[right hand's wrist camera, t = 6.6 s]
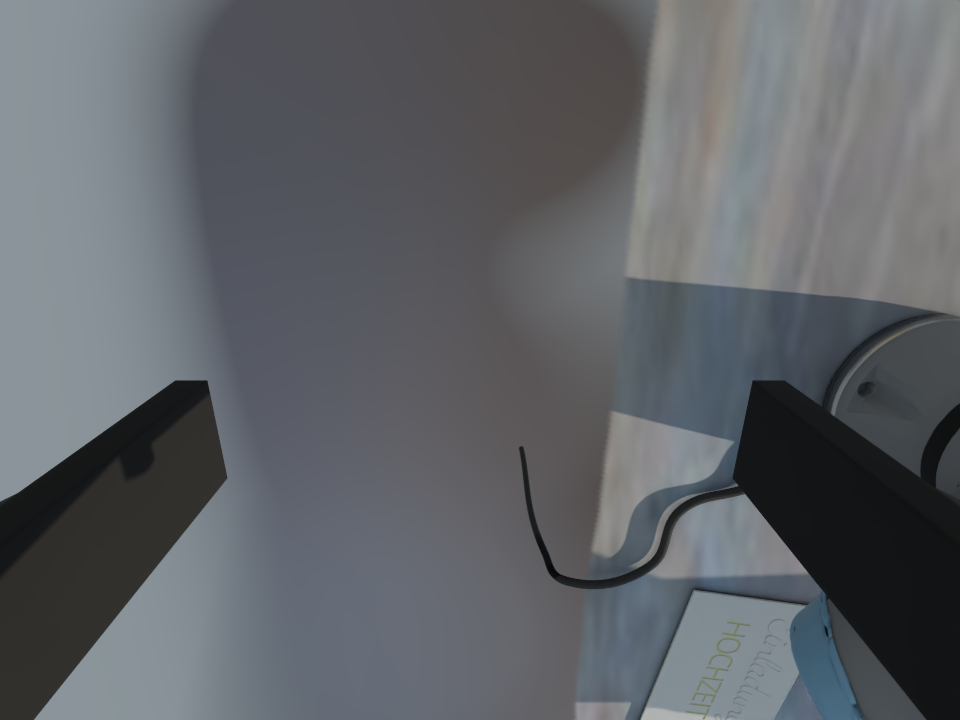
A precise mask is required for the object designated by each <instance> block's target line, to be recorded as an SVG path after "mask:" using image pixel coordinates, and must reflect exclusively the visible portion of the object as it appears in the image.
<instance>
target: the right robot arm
mask: <svg viewBox="0 0 960 720" xmlns="http://www.w3.org/2000/svg"><path fill="white" fill-rule="evenodd" d="M519 452H520V458H521V465H522V473H523V482H524V491H525V499H526V505H527V511H528V515H529V520H530V524H531V527H532V531H533V534H534V537H535V539H536V542H537V545H538V547H539V549H540V552H541V554H542V556H543V559H544V562H545V565H546V568H547V571H548V573H549V574H550V575H551V577H552V578H553V579H555V580H556V581H558V582H559V583H561V584H564V585H567V586H571V587H576V588H583V589H604V588H611V587H615V586H619V585H623V584H626V583H628V582H631V581H633V580H635V579H637V578H639V577H641V576H643V575H645V574H647V573H648V572H650V571H651V570H653V569H654V568H655V567H657V566H658V565H659V564H660V562H661V561H662V560H663V558H664V557H665V554H666V552H667V549H668V546H669V542H670V538H671V535H672V531H673V529H674V526H675V524H676V523H677V521H678V520H679V518H680V517H681V516H682V515H683V514H684V513H686V512H687V511H688V510H690V509H691V508H693V507H695V506H697V505H700V504H703V503H706V502H710V501H714V500H719V499H725V498H730V497H735V496H739V495H743V494H746V495H747V497H748V498H749V499H750V500H751V502H752V503H753V504H754V505H755V507H756V508H757V509H758V510H759V512H760V513H761V514H762V515H763V517H764V518H765V519H766V520H767V522H768V523H769V524H770V525H771V527H772V528H773V529H774V530H775V532H776V533H777V534H778V535H779V537H780V538H781V539H782V540H783V542H784V543H785V544H786V545H787V547H788V548H789V549H790V550H791V552H792V553H793V554H794V555H795V557H796V558H797V559H798V560H799V562H800V563H801V564H802V565H803V567H804V568H805V569H806V570H807V572H808V573H809V574H810V575H811V577H812V578H813V579H814V580H815V582H816V583H817V584H818V585H819V587H820V588H821V589H822V592H821V594H820V595H819V596H818V597H817V598H815V599H814V600H813V601H812V602H811V603H809V604H808V605H807V606H806V607H805V608H803V609H802V610H801V611H800V612H799V613H798V614H797V615H796V616H795V617H794V619H793V620H792V623H791V626H790V641H791V650H792V654H793V657H794V660H795V663H796V666H797V669H798V671H799V673H800V676H801V678H802V680H803V682H804V684H805V686H806V688H807V690H808V692H809V694H810V696H811V698H812V700H813V701H814V703H815V705H816V707H817V709H818V710H819V712H820V714H821V715H822V717H823V719H824V720H960V316H954V315H944V314H939V315H926V316H920V317H915V318H912V319H908V320H905V321H902V322H899V323H897V324H894V325H892V326H890V327H888V328H886V329H884V330H882V331H881V332H879V333H877V334H876V335H874V336H873V337H871V338H870V339H868V340H867V341H866V342H864V343H863V344H862V345H861V346H859V347H858V348H857V349H856V350H855V351H854V352H853V353H852V354H851V355H850V356H849V357H848V358H847V359H846V361H845V362H844V363H843V364H842V366H841V367H840V368H839V370H838V371H837V373H836V374H835V376H834V378H833V380H832V381H831V384H830V386H829V388H828V390H827V393H826V396H825V400H824V404H823V408H822V407H821V406H819V405H818V404H817V403H815V402H814V401H812V400H811V399H810V398H808V397H807V396H805V395H804V394H803V393H801V392H800V391H798V390H797V389H796V388H794V387H793V386H791V385H790V384H789V383H787V382H786V381H753V382H752V386H751V391H750V396H749V401H748V406H747V411H746V416H745V420H744V425H743V430H742V435H741V440H740V445H739V450H738V455H737V459H736V464H735V469H734V474H733V479H734V480H735V482H736V483H737V484H738V485H739V486H738V487H734V488H729V489H724V490H719V491H714V492H709V493H705V494H701V495H698V496H695V497H693V498H691V499H689V500H687V501H685V502H684V503H682V504H681V505H680V506H678V507H677V508H676V509H675V510H674V511H673V512H672V514H671V515H670V516H669V518H668V520H667V522H666V524H665V527H664V530H663V534H662V538H661V542H660V545H659V548H658V550H657V552H656V554H655V556H654V557H653V558H652V559H651V560H650V561H649V562H647V563H646V564H644V565H643V566H641V567H639V568H638V569H636V570H634V571H632V572H629V573H627V574H625V575H622V576H619V577H615V578H611V579H605V580H580V579H574V578H570V577H566V576H563V575H561V574H559V573H558V572H557V571H556V569H555V568H554V566H553V563H552V561H551V558H550V555H549V553H548V550H547V548H546V546H545V544H544V541H543V539H542V536H541V534H540V531H539V528H538V525H537V522H536V518H535V514H534V510H533V505H532V499H531V493H530V485H529V477H528V469H527V462H526V457H525V452H524V447H523V446H520V447H519ZM226 479H227V474H226V469H225V464H224V459H223V455H222V450H221V445H220V440H219V435H218V430H217V426H216V421H215V416H214V411H213V406H212V401H211V396H210V391H209V387H208V382H207V381H174V382H173V383H171V384H170V385H169V386H167V387H166V388H164V389H163V390H162V391H160V392H159V393H157V394H156V395H155V396H153V397H152V398H150V399H149V400H148V401H146V402H145V403H143V404H142V405H141V406H139V407H138V408H136V409H135V410H134V411H132V412H131V413H129V414H128V415H127V416H125V417H124V418H122V419H121V420H120V421H118V422H117V423H115V424H114V425H113V426H111V427H110V428H108V429H107V430H106V431H104V432H103V433H101V434H100V435H99V436H97V437H96V438H94V439H93V440H92V441H90V442H89V443H87V444H86V445H85V446H83V447H82V448H80V449H79V450H78V451H76V452H75V453H73V454H72V455H71V456H69V457H68V458H66V459H65V460H64V461H62V462H61V463H59V464H58V465H57V466H55V467H54V468H52V469H51V470H50V471H48V472H47V473H45V474H44V475H43V476H41V477H40V478H38V479H37V480H36V481H34V482H33V483H31V484H30V485H29V486H27V487H26V488H24V489H23V490H22V491H20V492H19V493H17V494H15V495H13V496H11V497H9V498H7V499H5V500H3V501H1V502H0V720H34V719H35V718H36V716H37V715H38V714H39V713H40V711H41V710H42V709H43V708H44V706H45V705H46V704H47V703H48V701H49V700H50V699H51V698H52V696H53V695H54V694H55V693H56V691H57V690H58V689H59V688H60V686H61V685H62V684H63V683H64V681H65V680H66V679H67V678H68V676H69V675H70V674H71V673H72V671H73V670H74V669H75V668H76V666H77V665H78V664H79V663H80V661H81V660H82V659H83V658H84V656H85V655H86V654H87V653H88V651H89V650H90V649H91V648H92V646H93V645H94V644H95V643H96V641H97V640H98V639H99V638H100V636H101V635H102V634H103V633H104V631H105V630H106V629H107V628H108V626H109V625H110V624H111V623H112V621H113V620H114V619H115V618H116V616H117V615H118V614H119V613H120V612H121V610H122V609H123V608H124V607H125V605H126V604H127V603H128V601H129V600H130V599H131V598H132V597H133V595H134V594H135V593H136V592H137V590H138V589H139V588H140V587H141V585H142V584H143V583H144V582H145V580H146V579H147V578H148V577H149V575H150V574H151V573H152V572H153V570H154V569H155V568H156V567H157V565H158V564H159V563H160V562H161V560H162V559H163V558H164V557H165V555H166V554H167V553H168V552H169V550H170V549H171V548H172V547H173V545H174V544H175V543H176V542H177V540H178V539H179V538H180V537H181V535H182V534H183V533H184V532H185V530H186V529H187V528H188V527H189V525H190V524H191V523H192V522H193V520H194V519H195V518H196V517H197V515H198V514H199V513H200V512H201V510H202V509H203V508H204V507H205V505H206V504H207V503H208V502H209V500H210V499H211V498H212V497H213V495H214V494H215V493H216V492H217V490H218V489H219V488H220V487H221V485H222V484H223V483H224V482H225V480H226Z"/></svg>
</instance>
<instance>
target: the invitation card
mask: <svg viewBox="0 0 960 720" xmlns="http://www.w3.org/2000/svg"><path fill="white" fill-rule="evenodd" d="M806 606H807V605H801V604H794V603H787V602H780V601H772V600H765V599H758V598H751V597H743V596H736V595H729V594H721V593H714V592H707V591H700V590H693V592H692V595H691V597H690V600H689V602H688V604H687V607H686V609H685V612H684V614H683V616H682V619H681V621H680V624H679V626H678V629H677V631H676V633H675V636H674V638H673V641H672V643H671V645H670V648H669V650H668V653H667V655H666V657H665V660H664V662H663V665H662V667H661V670H660V672H659V674H658V677H657V679H656V682H655V684H654V686H653V689H652V691H651V694H650V696H649V698H648V701H647V703H646V706H645V708H644V711H643V713H642V715H641V718H640V720H774V718H775V717H776V715H777V713H778V711H779V709H780V707H781V706H782V704H783V702H784V700H785V698H786V697H787V695H788V693H789V691H790V689H791V687H792V686H793V684H794V682H795V680H796V678H797V677H798V675H799V671H798V669H797V666H796V663H795V660H794V657H793V654H792V650H791V641H790V626H791V623H792V620H793V619H794V617H795V616H796V615H797V614H798V613H799V612H800V611H801V610H802V609H803V608H805V607H806Z"/></svg>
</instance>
